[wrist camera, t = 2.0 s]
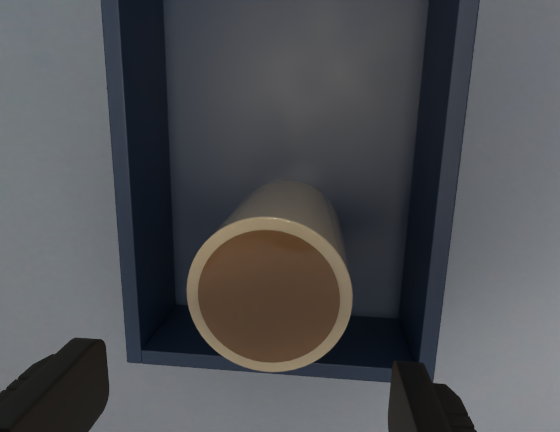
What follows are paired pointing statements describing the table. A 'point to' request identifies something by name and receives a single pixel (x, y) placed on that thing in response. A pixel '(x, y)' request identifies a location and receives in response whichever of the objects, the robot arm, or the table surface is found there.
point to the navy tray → (289, 155)
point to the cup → (273, 280)
